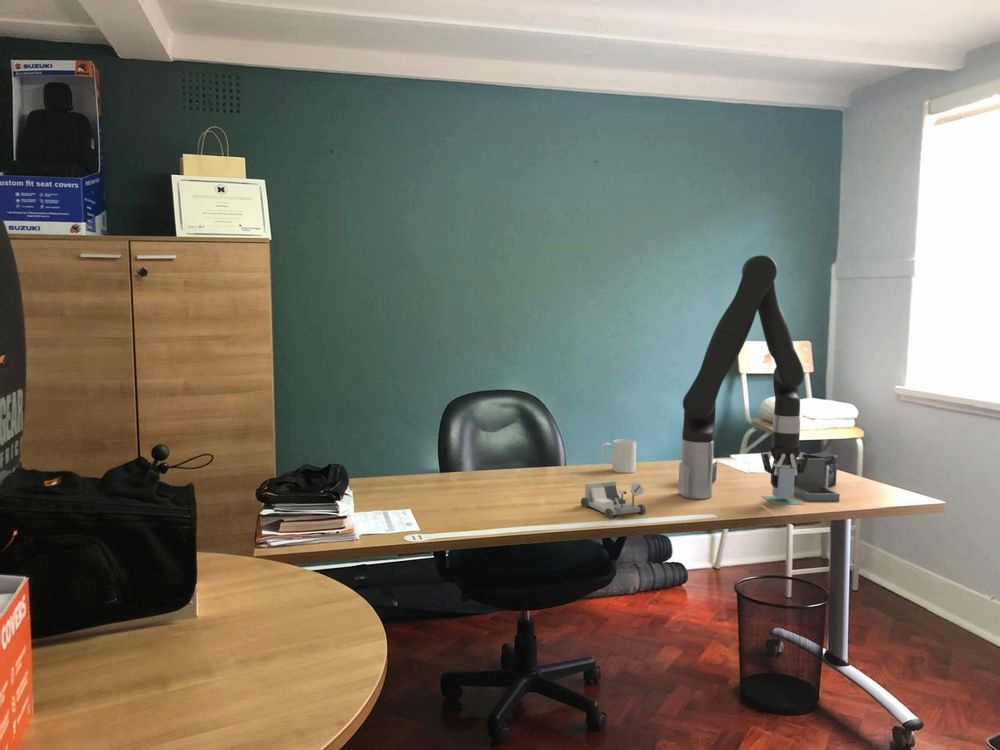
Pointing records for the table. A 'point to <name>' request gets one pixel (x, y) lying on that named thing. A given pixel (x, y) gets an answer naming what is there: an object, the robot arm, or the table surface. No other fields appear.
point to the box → (829, 461)
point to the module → (785, 483)
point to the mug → (623, 455)
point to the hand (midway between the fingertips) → (783, 486)
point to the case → (814, 482)
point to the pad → (782, 501)
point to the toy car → (611, 498)
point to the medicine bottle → (714, 469)
